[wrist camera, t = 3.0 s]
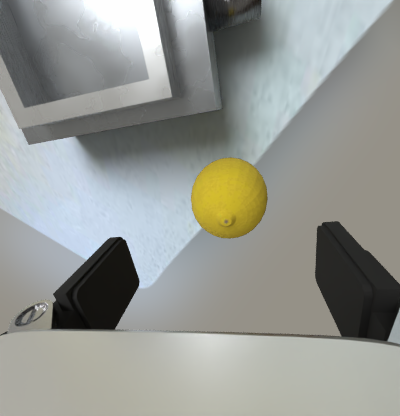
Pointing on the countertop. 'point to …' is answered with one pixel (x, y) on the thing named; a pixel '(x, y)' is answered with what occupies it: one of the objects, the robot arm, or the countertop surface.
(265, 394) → the robot arm
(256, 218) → the lemon
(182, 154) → the countertop surface
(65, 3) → the housing
